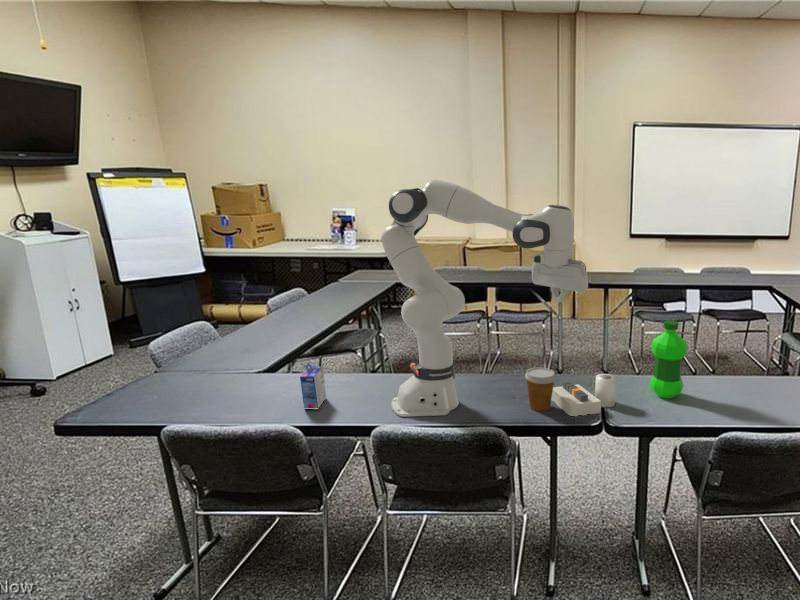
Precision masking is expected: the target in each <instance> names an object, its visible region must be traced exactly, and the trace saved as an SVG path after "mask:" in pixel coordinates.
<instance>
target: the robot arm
mask: <svg viewBox="0 0 800 600" xmlns="http://www.w3.org/2000/svg"><path fill="white" fill-rule="evenodd" d="M388 210H389V211H388V212H389V215H390V216H391V217H392V219H393V222H392V223H391V224H390V225H389V226H387V228H385V229H384V230H383V232H382V233H381V236H380V241H381V244H382V248H383V250H384V252H385V255H386V258H387V259H388V261H389V264H390V265H391V267H392V268H393V270H394V272H395V274H396V276H397V278H398V279H399V281H400V283H401V284H402V285H403V286H404V287H407V288H410V289H411V290H413V291H414V292H415V293H416V294H414V295H412V296H410V297H409V298H408V299H406V300H405V301H404V302H403V304H402V305H401V311H400V313H401V317H402V320H403V322H404V324H405V325H406V326H407V327H409V328H410V329H411V330H412V331H413V333H414V335H415V337H416V340H417V347H418V357H419V358H418V359H419V361H418V363H417V364H416V363H415V362H411V363H410V364H409V367H410V369H411V370H412V371H413V375H412V376H410V377H409V378H408V379H406V380H405V381H404V382H403V383H401V385H400V386H399V388H398V392H397V396H395V397H393V399H391V409H392V411H393V410H394V411H393V412H394V414H396V415H397V416H399V417H405V418H410V417H431V416H434V417H435V416H447V415H448V414H449V413H450V412H451V411H452V410H454V409H456V408H457V407H458V406H459V404H460V402H459V399H458V395H457V392H456V390H457V389H456V386H455V385H456V384H455V376H456V370H455V367H456V366H455V363H454V361H453V360H454V359H453V358H454V357H453V354H454V352H453V341H452V339H451V337H449V336H448V335H446V334H445V331H444V328H443V322H445V321H448V320H451V319H452V318H455V317H456V316H457V315H458V314H460V313H461V312H462V311H463V310H464V308H465V305H466V299H465V295H464V293H463V292H462V290H461V289H460V288H459V287H457V286H455V285H452V284H451V283H449V282H448V281H446V280H445V279H444V278H443V277H442V276H441V275H440V274H439V273H438V272H437V271H436V270H435V268H434V267H433V266H432V265H431V263H430V261H429V260H428V258H427V257H426V255H425V253H424V251H423V250H422V248H421V246H420V245H419V243H418V241H417V239H416V237H415V236H417V234H418V233H419V232H420V231H421V230H422V229H423V228H425V226H426V224H427V222H428V221H429V215H439V216H441V217H443V218H446V219H448V220H450V221H453V222H456V223H461V224H466V225H472V224H487V225H488V224H489V225H492V226H495V227H498V228H500V229H504V230H506V231H509V232H512V239H513V242H514V243H515V244H516V245H517V246H518V247H520V248H522V249H527V250H529V249H530V250H531V249H535V248H537V247H538V248H539V247H543V252H542V253H539V254H538V253H537V254H535V255H533V256H532V257H531V261H532V266H531V281H532V283H533V284H534V285H538V286H544V287H549V288H550V292H551V294H552V297H553V301H554V302H555V303H556V302H557V303H561V304H562V303H565V296H566V295H567V293H568V291H571V292H577V293H581V292H586V291H587V290H588V288H589V278H588V272H587V265H586V264H585V263H584V262H583V261H582V260H575V247H574V243H573V241H574V235H575V223H574V214H573V211H572V209H570V208H569V207H568V206H564V205H557V204H549V205H546V206H545V207H544V208H543V209H541V210H540V211H538V212H535V213H532V214H531V213H529V214H524V213H523V214H522V213H519V212H516V211H513V210H510V209H507V208H504V207H501V206H499V205H496V204H495V203H493V202H491V201H488V200H487V199H486V198H484V197H482V196H480V195H479V194H477V193H475V192H473V191H472V190H471V189H468V188H465V186H461V185H458V184H455V183H452V182H448V181H446V180H445V181H444V180H439V179H431V180H429V181H428V182H427V183H426V184H424V187H423V188H422V189H421V188H418V187H417V188H416V187H414V188H408V189H407V188H406V189H405V188H403V189H400V190H397V191H395V192H394V193H393V194H392V195H391V197H390V198H389V201H388ZM558 291H559V292H558Z"/></svg>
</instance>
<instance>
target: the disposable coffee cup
mask: <svg viewBox="0 0 800 600" xmlns="http://www.w3.org/2000/svg"><path fill="white" fill-rule="evenodd" d="M524 378H525V380H526V386H527V395H528V403H529V408H530V409H531V410H533V411H535V412H547V411H549V410H551V404H552V400H551V398H552V392H553V385H554V384H555V381H556V379H557V377H556V375H555V371H554V370H552V369H550V368H546V367H531V368H529V369H528V368H527V370H526V373H525V375H524Z"/></svg>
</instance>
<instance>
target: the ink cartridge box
mask: <svg viewBox="0 0 800 600" xmlns="http://www.w3.org/2000/svg"><path fill="white" fill-rule="evenodd" d="M304 367H305V370H304V372H302V374H301V375H300V377H299V378H300V387H301V395H302V401H303V402H302V403H303V409H304V408H319V407H320V405H321V404H322V403H323V401H324V400H325V398H326V399H327V391H326V384H325V375H324V374H325V373H324V367H323V365H321V366H318V365H316V366H315V365H314V366H313V365H311V364H310V363H309V362H308V363H307V364H306V365H305V366H304ZM325 401H326V400H325ZM325 401H324V402H325ZM323 404H324V403H323ZM323 404H322V405H323ZM320 408H321V407H320Z"/></svg>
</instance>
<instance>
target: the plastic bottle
mask: <svg viewBox="0 0 800 600" xmlns="http://www.w3.org/2000/svg"><path fill="white" fill-rule="evenodd" d="M679 324H680V323H679V322H677V321H673V320H665V321H663V325H662V326H663V327H662V328H663V329H664V332H663V333H661V334H659V335H658V336H657V337H655V338H654V339H652V342H651V344H650V346H651V347H650V350H651V353H652V354H653V355H654V368H653V376H652V377H651V379H650V381H649V387H650V389H651V390H652V391H653V392H654V393H655V394H656V395H657V397H659V398H663V399H668V400H669V399H674V398H675V397H677V396H679V395H680V394H681V392H682V391H683V389H684V382H683V379H682V377H681V376H682V364H683V359H684V358H685V357H686V355H687V352H688V348H689V346H688V343H687V341H686V340H684V338H682V337H681V336H680V335H679V334H678V333H677V330H679Z"/></svg>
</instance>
